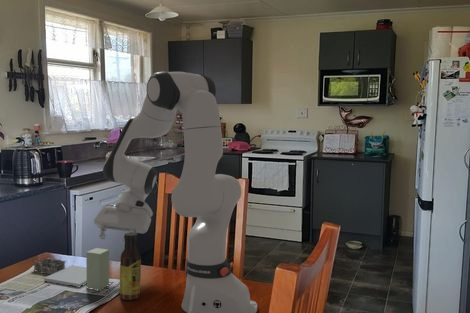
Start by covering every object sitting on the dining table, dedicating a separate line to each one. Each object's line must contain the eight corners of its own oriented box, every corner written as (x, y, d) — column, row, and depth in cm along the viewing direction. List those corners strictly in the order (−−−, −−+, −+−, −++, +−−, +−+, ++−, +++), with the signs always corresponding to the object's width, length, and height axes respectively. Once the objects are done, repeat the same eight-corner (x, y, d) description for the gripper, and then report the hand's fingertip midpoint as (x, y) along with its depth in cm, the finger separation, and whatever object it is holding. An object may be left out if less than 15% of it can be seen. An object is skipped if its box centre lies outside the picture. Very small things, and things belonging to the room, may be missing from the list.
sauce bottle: (135, 302, 138) (135, 237, 137) (115, 300, 140) (116, 235, 138) (143, 294, 145) (144, 232, 143) (125, 292, 146) (125, 230, 144)
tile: (105, 273, 162) (105, 270, 162) (79, 287, 148) (79, 284, 148) (72, 268, 166) (72, 265, 166) (44, 281, 153) (44, 277, 153)
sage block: (108, 285, 151) (109, 249, 150) (99, 290, 146) (99, 254, 145) (96, 283, 153) (96, 247, 152) (86, 288, 148) (86, 252, 147)
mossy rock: (30, 270, 164) (30, 259, 163) (48, 265, 170) (48, 254, 170) (50, 276, 158) (50, 265, 158) (68, 270, 165) (68, 259, 164)
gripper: (100, 198, 166) (83, 231, 158) (150, 204, 159) (135, 238, 151) (108, 208, 170) (91, 241, 162) (157, 214, 164) (142, 248, 155)
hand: (113, 240), depth 156 cm, fingers open, 8 cm apart
